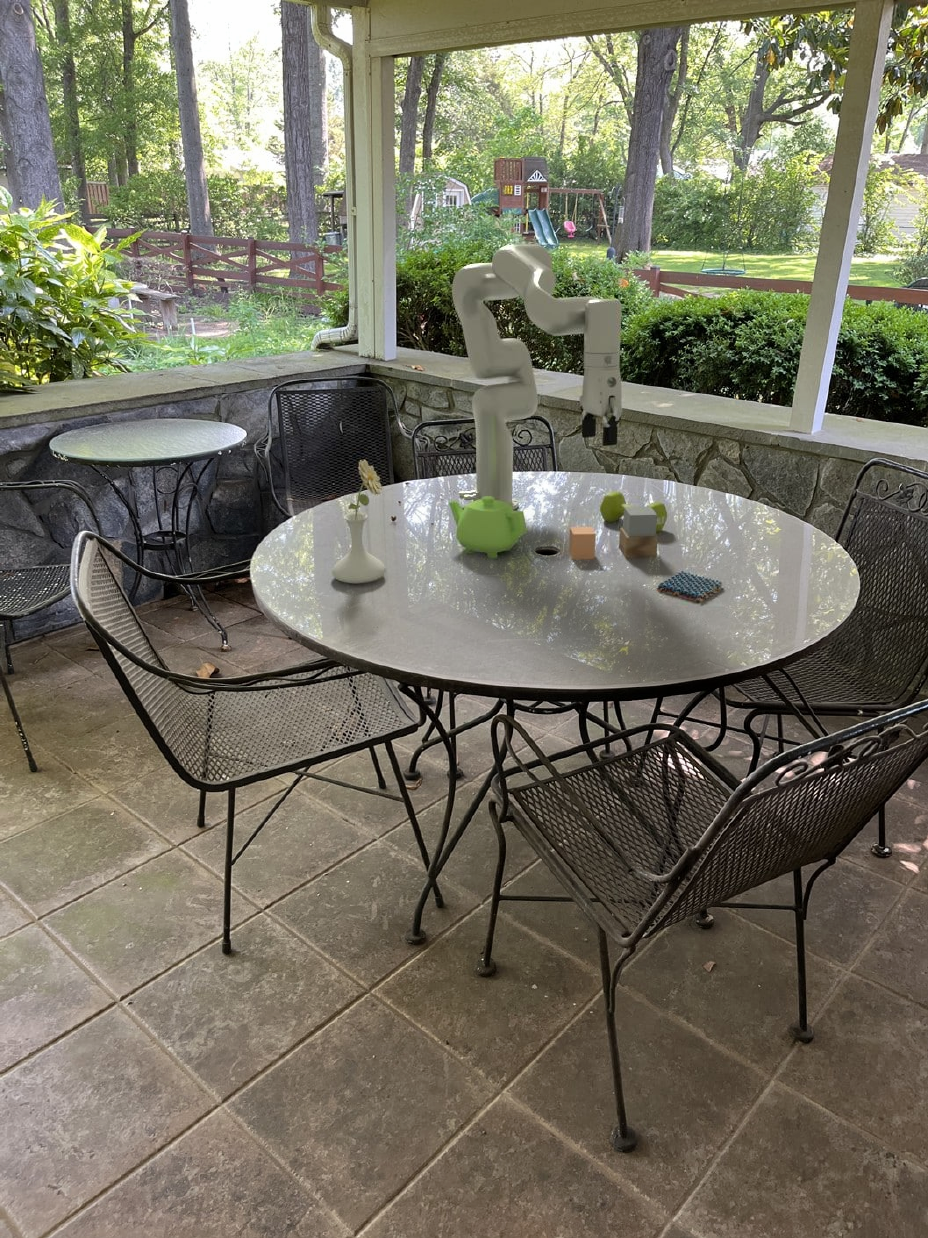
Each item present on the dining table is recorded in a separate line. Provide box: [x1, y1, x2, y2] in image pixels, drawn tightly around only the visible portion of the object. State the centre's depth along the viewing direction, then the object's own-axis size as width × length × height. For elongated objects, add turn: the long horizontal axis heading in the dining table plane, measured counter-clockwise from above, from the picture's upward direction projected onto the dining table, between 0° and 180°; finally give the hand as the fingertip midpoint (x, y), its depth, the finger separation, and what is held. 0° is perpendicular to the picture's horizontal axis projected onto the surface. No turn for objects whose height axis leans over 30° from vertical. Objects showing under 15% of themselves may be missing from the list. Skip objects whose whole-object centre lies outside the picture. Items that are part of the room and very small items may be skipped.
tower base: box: [618, 527, 659, 559], centre depth 197 cm, size 7×7×5 cm
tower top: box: [622, 506, 657, 537], centre depth 195 cm, size 6×6×5 cm
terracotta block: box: [568, 526, 597, 561], centre depth 195 cm, size 5×5×6 cm
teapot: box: [448, 496, 528, 559], centre depth 198 cm, size 20×13×13 cm
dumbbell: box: [599, 490, 668, 534], centre depth 214 cm, size 16×8×7 cm, turn 42°
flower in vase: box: [331, 459, 387, 584], centre depth 181 cm, size 13×11×25 cm
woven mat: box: [656, 570, 723, 603], centre depth 178 cm, size 10×11×2 cm
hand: (598, 440), depth 191 cm, fingers open, 9 cm apart
